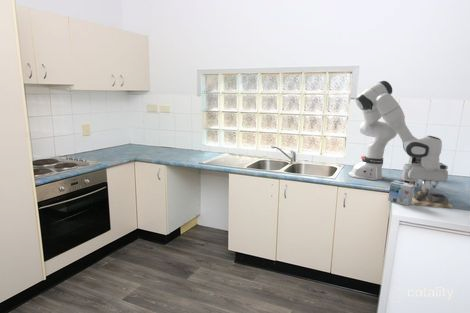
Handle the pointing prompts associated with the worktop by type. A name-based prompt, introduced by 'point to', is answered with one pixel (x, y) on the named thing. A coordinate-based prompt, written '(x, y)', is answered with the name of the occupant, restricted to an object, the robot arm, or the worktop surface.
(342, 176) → the worktop surface
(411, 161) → the coffee box
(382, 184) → the worktop surface
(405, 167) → the supplement can
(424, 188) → the pipe fitting
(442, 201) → the manifold plate
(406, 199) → the light bulb box
